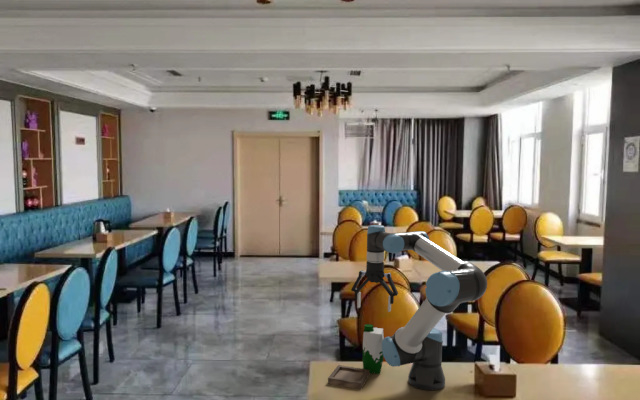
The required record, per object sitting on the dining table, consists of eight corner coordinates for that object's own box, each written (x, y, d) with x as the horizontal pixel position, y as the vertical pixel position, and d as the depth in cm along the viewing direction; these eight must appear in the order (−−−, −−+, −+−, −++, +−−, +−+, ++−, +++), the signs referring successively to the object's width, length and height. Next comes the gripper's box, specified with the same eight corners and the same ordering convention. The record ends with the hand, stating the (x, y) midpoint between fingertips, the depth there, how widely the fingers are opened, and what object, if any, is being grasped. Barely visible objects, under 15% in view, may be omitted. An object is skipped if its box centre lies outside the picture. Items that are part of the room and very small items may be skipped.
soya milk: (363, 365, 238) (364, 321, 236) (383, 367, 236) (385, 323, 234) (361, 373, 229) (362, 328, 227) (382, 375, 227) (383, 330, 225)
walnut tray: (369, 375, 227) (369, 369, 227) (360, 389, 214) (360, 383, 213) (338, 370, 231) (338, 365, 231) (327, 383, 218) (328, 377, 218)
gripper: (405, 261, 227) (404, 309, 229) (349, 257, 235) (348, 303, 238) (402, 265, 220) (400, 314, 222) (345, 260, 228) (344, 308, 230)
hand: (374, 309), depth 230 cm, fingers open, 13 cm apart
